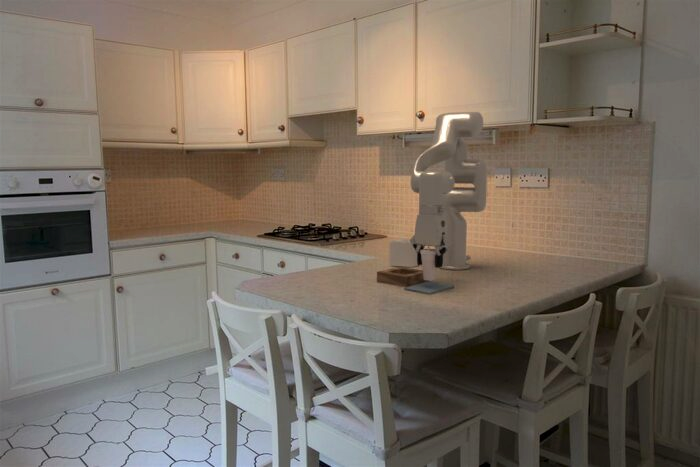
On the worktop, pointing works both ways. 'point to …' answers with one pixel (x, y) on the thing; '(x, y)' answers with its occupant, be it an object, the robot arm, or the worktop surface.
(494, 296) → the worktop surface
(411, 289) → the mat
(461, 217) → the robot arm
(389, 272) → the wooden square frame
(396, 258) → the toilet tissue
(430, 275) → the smoothie
